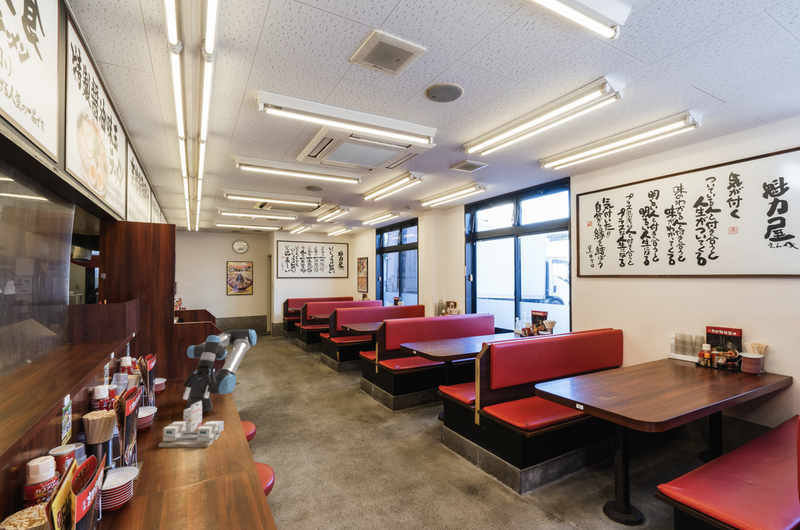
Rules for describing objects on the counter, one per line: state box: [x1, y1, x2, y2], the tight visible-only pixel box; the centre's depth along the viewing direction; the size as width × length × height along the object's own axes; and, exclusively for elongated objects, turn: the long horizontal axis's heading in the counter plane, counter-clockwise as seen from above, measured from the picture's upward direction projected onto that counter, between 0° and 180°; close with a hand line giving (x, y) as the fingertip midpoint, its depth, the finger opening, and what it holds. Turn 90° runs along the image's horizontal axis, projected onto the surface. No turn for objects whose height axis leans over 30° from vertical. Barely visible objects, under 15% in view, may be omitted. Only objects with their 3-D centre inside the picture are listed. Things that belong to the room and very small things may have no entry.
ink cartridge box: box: [182, 401, 203, 432], centre depth 202 cm, size 9×5×15 cm, turn 168°
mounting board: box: [158, 421, 223, 448], centre depth 186 cm, size 14×24×8 cm, turn 90°
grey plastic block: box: [209, 420, 225, 433], centre depth 198 cm, size 5×7×5 cm
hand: (195, 398), depth 203 cm, fingers open, 13 cm apart
